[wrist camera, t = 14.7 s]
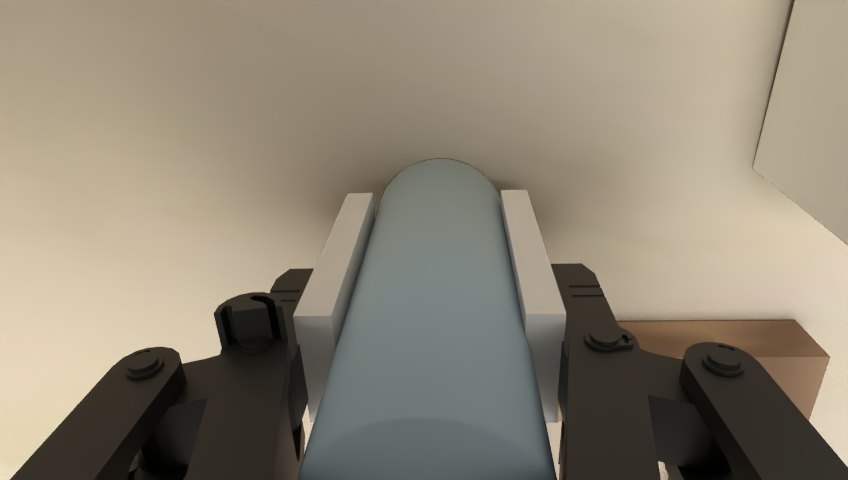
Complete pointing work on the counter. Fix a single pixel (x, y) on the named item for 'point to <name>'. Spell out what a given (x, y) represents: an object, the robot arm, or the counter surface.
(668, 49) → the counter surface
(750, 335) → the socket board
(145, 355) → the robot arm
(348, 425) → the peg
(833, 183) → the cover
